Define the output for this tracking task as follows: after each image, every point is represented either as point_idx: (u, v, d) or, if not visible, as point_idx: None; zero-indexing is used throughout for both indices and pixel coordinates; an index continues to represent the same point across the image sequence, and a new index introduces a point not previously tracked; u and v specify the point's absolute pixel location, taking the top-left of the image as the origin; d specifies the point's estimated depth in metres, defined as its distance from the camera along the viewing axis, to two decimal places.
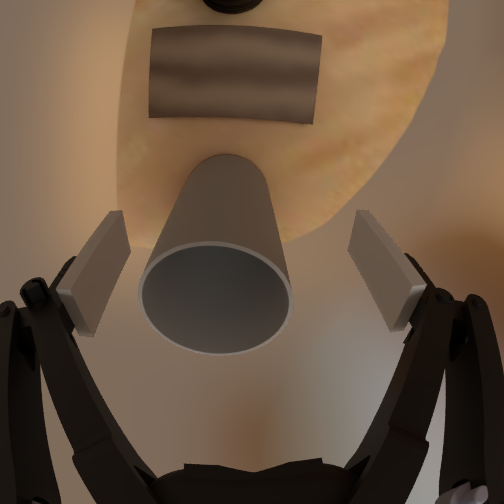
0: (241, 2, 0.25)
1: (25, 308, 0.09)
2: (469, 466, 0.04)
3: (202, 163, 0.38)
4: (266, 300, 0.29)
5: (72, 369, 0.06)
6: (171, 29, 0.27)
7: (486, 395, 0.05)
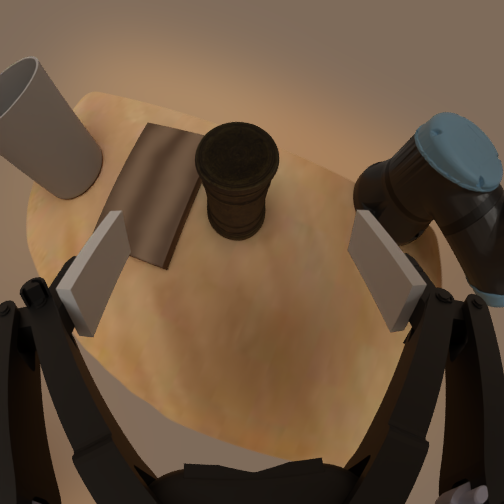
0: None
1: (25, 308, 0.09)
2: (469, 466, 0.04)
3: (98, 152, 0.43)
4: None
5: (72, 368, 0.06)
6: None
7: (486, 395, 0.05)
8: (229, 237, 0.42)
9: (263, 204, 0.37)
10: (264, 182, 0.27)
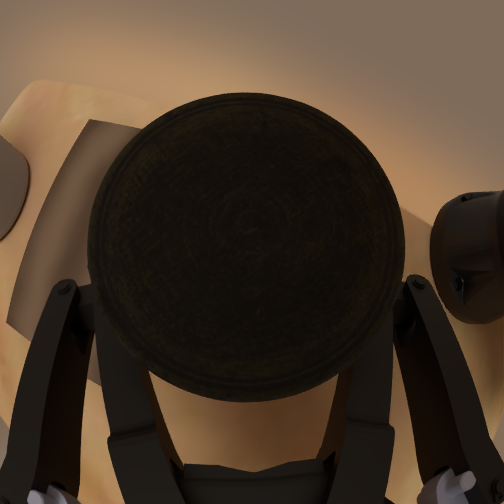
0: None
1: (85, 286, 0.10)
2: (447, 454, 0.05)
3: (20, 172, 0.23)
4: None
5: None
6: None
7: (448, 380, 0.06)
8: None
9: None
10: (359, 354, 0.06)
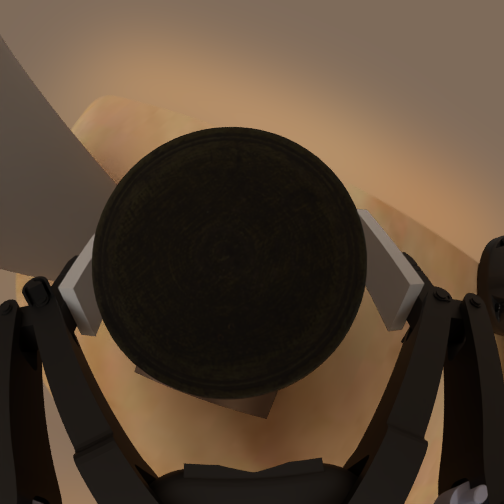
0: None
1: (27, 307, 0.09)
2: (468, 465, 0.04)
3: None
4: None
5: (74, 368, 0.06)
6: None
7: (485, 394, 0.06)
8: None
9: None
10: (319, 364, 0.07)
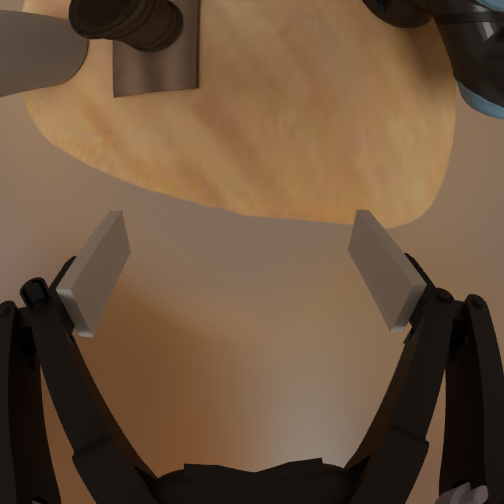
0: None
1: (25, 308, 0.09)
2: (469, 466, 0.04)
3: None
4: None
5: (72, 369, 0.06)
6: None
7: (486, 395, 0.05)
8: (155, 50, 0.31)
9: (168, 13, 0.23)
10: (139, 8, 0.16)
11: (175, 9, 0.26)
